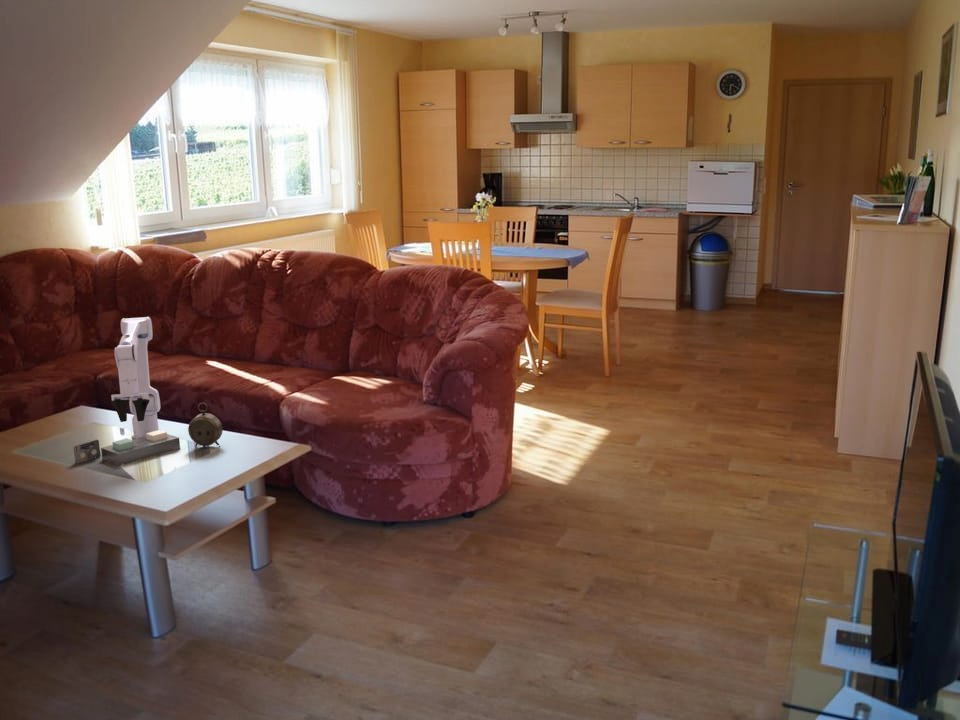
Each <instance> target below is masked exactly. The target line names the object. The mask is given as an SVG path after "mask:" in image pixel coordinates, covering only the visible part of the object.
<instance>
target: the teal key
mask: <svg viewBox="0 0 960 720" xmlns="http://www.w3.org/2000/svg"><path fill="white" fill-rule="evenodd" d="M112 445H113V449H115V450H118V451H122V450H125V449H129V448H133V447H135V446H134V441H133V439H130V438H123V439H119V440H115V441H112Z"/></svg>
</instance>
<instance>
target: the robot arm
mask: <svg viewBox="0 0 960 720" xmlns="http://www.w3.org/2000/svg"><path fill="white" fill-rule="evenodd" d="M120 330H121V334H122V336H121V338H120V340H119V344H118V345H117V347H116V346H115V347H114V358H115V362H116V369H118V382H119V392H120V393H118V394H116V393H115V394H111V395H110V396H111V402H110V403H111V405H112V407H113V408H114V409H115V411H116V414H117V416H118V418H119V421H120V423H124V422H127V421H128V413H127V412H128V404H129V411H130V413H131V414H133V416H132V418H131V422H132V431H133V435H131V438H134V439H137V438H141V437H144V436H146V433H149V432H153V431H157V430H160V429H159V421H158V412H160V410H161V399H160V393H159V391H158V389H156V388H154V387H152V386H151V383H150V381H151V380H150V379H151V378H150V367H149V365H150V364H149V354H148V352H149V351H148V346H149V345H148V344H149V342H150V341H151V340H153V335H154V333H153V323H152V319H151V317H150V316H144V317H130V318H128V317H127V318H125V317H123V318H122V319H121V320H120Z"/></svg>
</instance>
